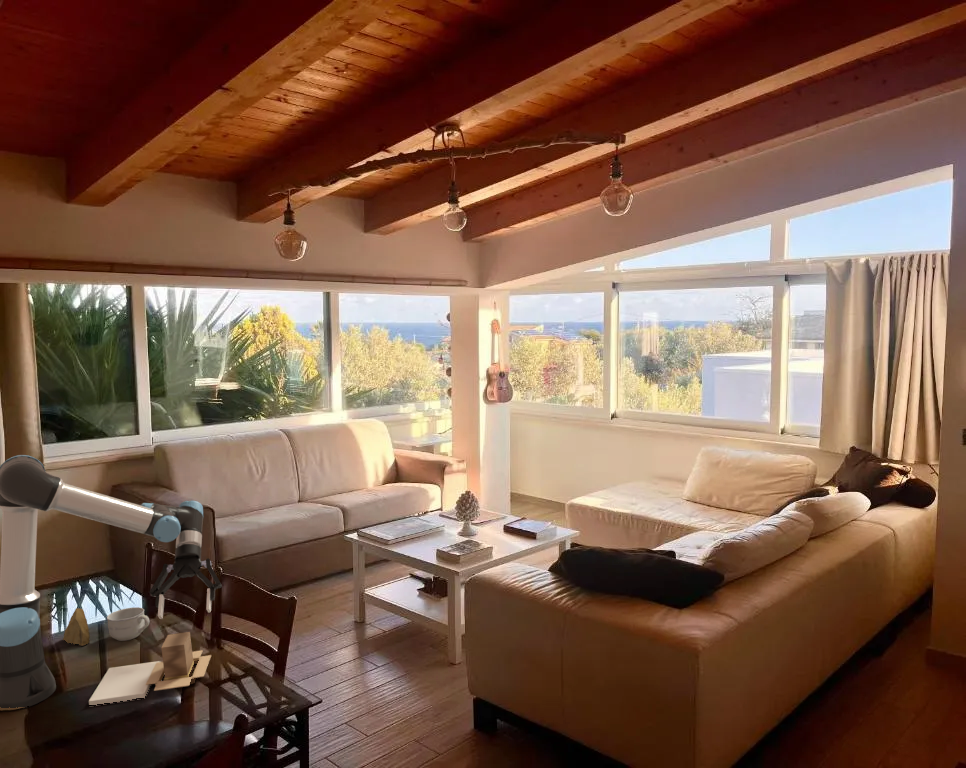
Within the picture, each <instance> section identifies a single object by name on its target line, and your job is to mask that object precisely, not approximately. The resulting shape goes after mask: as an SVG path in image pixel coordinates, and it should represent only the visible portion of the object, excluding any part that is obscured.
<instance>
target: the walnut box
mask: <svg viewBox="0 0 966 768" xmlns="http://www.w3.org/2000/svg"><path fill="white" fill-rule="evenodd" d="M192 647H193V646H192V640H191V632H190V631H186V632H177V633H171V634H167V635H166V637H165V640H164V641H163V643H162V646H161V657H162V662H163V665H164V673H165V676H164V678H163V681H165V680H172V679H179V678H186V677H189V674H190V672H191V670H192V667H193V665H194V661H193V654H192V652H193V648H192Z"/></svg>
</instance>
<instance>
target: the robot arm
mask: <svg viewBox="0 0 966 768" xmlns="http://www.w3.org/2000/svg"><path fill="white" fill-rule="evenodd" d="M0 509H1V511H2V518H1V519H2V520H1V540H0V541H1V542H0V543H1V545H0V546H1V547H0V707H1V708H9V707H10V708H16V707H17V708H18V707H26V708H28V707H27V706H29V707H33V706H34V705H37V704H38V703H41V702H42V701H45V700H46V699H48V698H49V697H50V696H52V695H53V694H54V692H55V691H56V689H57V685H56V680H55V679H56V678H55V677H54V675H53V673H52V672H51V670H50V669H49V667H48V664H47V663H46V660H45V652H44V646H43V640H42V639H43V638H42V637H43V636H42V631H41V619H40V610H41V609H40V608H41V607H40V604H41V593H40V592H39V591H37V590H36V589H35V583H36V582H35V581H36V562H37V561H36V560H37V559H36V558H37V541H38V539H37V537H38V535H37V534H38V516H39V515H38V513H39V512H38V511H39V510H40V511H42V512H43V511H44V512H49V511H50V510H55V511H58V512H62V513H66V514H69V515H73V516H77V517H80V518H84V519H87V520H91V521H95V522H99V523H103V524H107V525H111V526H114V527H116V528H117V527H118V528H120V529H121V528H122V529H124V530H128V531H131V532H135V533H138V534H139V533H140V534H143V535H146V536H149V537H153V538H155V539H156V540H157V541H159V542H162V543H170V542H173V541H175V539H176V541H175V551H174V552H175V553H174V554H175V555H174V562H173V564H167V563H163V565H162V569H161V572H160V574H159V575H158V577H157V578H156V580H155V581H154V584H153V585H152V587H151V588H150V590H149V594H150V595H151V597H155V603H154V604H155V605H154V606H155V607H156V608H157V610H158V611H157V617H158V618H159V619H160V620H163V617H164V608H165V596H164V595H165V594H166V593H167V592H168V590H169V589H170V588H171V587H172V586H173V585H174V584H175V583H176V581H178V580H179V579H180V578H182V579H184V578H185V579H186V578H193V577H194V576H196V577H197V578H199V579H200V581H202V582H203V583H204V585H206V586H207V587H208V588H207V590H206V592H207V593H206V610H205V611H207V613H208V614H209V613H211V611H212V602H213V601H215V600H216V590H218V589H221V588H222V587H223V586H222V583H221V581H220V580H219V577H218V576H217V574H216V572H215V571H214V568H213V566H212V561H211V558H206V559H205V560H202V544H203V543H202V542H203V540H202V539H203V525H204V524H203V522H204V507H203V504H202V503H201V502H199V501H196V500H192V499H191V500H189V501H188V500H184V501H182V502H181V503H179V504H178V506H173V505H164V504H159V503H154V502H151V503H149V502H143V503H141V504H138V503H134V502H130V501H126V500H123V499H119V498H116V497H113V496H109V495H108V494H107V495H106V494H103V493H100V492H96V491H92V490H89V489H86V488H82V487H78V486H76V485H72V484H69V483H66V482H64V481H63V478H61V477H60V476H59V477H58V476H55V475H53V474H50V473H48V472H47V471H46V467H45V466H44V464H43V462H41V461H40V460H39V459H37V458H35V457H34V456H30V455H26V454H18V455H14V456H12V457H10V458H7V459H6V460H5V461H4V462H3V463H2V464H0ZM203 567H204V568H206V569H207V570H208V572H209V574H210V575H211V576H210V577H212V579H213V581H214V583H213V582H212V581H211V580H209V578H208V577H206V575H205V574H203V573H202V571H201V570H200V569H201V568H203ZM172 570H173V571H172ZM171 571H172V573H171ZM169 573H171V576H169V578H167V577H168V575H169ZM166 579H167V580H166ZM165 580H166V581H165Z"/></svg>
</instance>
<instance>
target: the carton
mask: <svg viewBox="0 0 966 768" xmlns="http://www.w3.org/2000/svg"><path fill="white" fill-rule="evenodd" d="M192 654H193V661H197V660H199V661H198V663H197V665H195V668H194V671H193V673H192V676H191V677H186V678H179V679H172V680H165V681H164V680H163V681H161V680H162V678H163V676H164V665H163V661H160V662H158V663H156V665H155V667H154V669H153V671H152V673H151V675H150V677H149V679H148V681H147V683H146V685H149V684H152V685H155V687H154V689H153V691H162V690H169V689H175V688H176V689H177V688H183V687H189V686H190V682H191V679H194V678H197V679H198V678H203V677H205V674H206V672H207V668H208V665H209V663H210V660H211V657H212V654H209V655H202V654H203V650H195V651H194V650H193V651H192ZM164 677H165V676H164ZM163 679H164V678H163Z"/></svg>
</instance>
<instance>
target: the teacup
mask: <svg viewBox="0 0 966 768" xmlns="http://www.w3.org/2000/svg"><path fill="white" fill-rule="evenodd" d="M106 620H107V628H108V632H109V633H108V634H109V635H110V637H111V638H113V639H114V640H117V641H118V642H119V641H122V642H123V641H130V640H132V639H135V638H137V637H139V636H140V635H141V633H143V631H144V630H145V629H146V628H148V627H149V625H150V623H151V622H150V618H149V616H148V615H145V609H144V608H142V607H127V608H122V609H119V610H115V611H112V612H111V613H110V614H108V615H107V616H106Z"/></svg>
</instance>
